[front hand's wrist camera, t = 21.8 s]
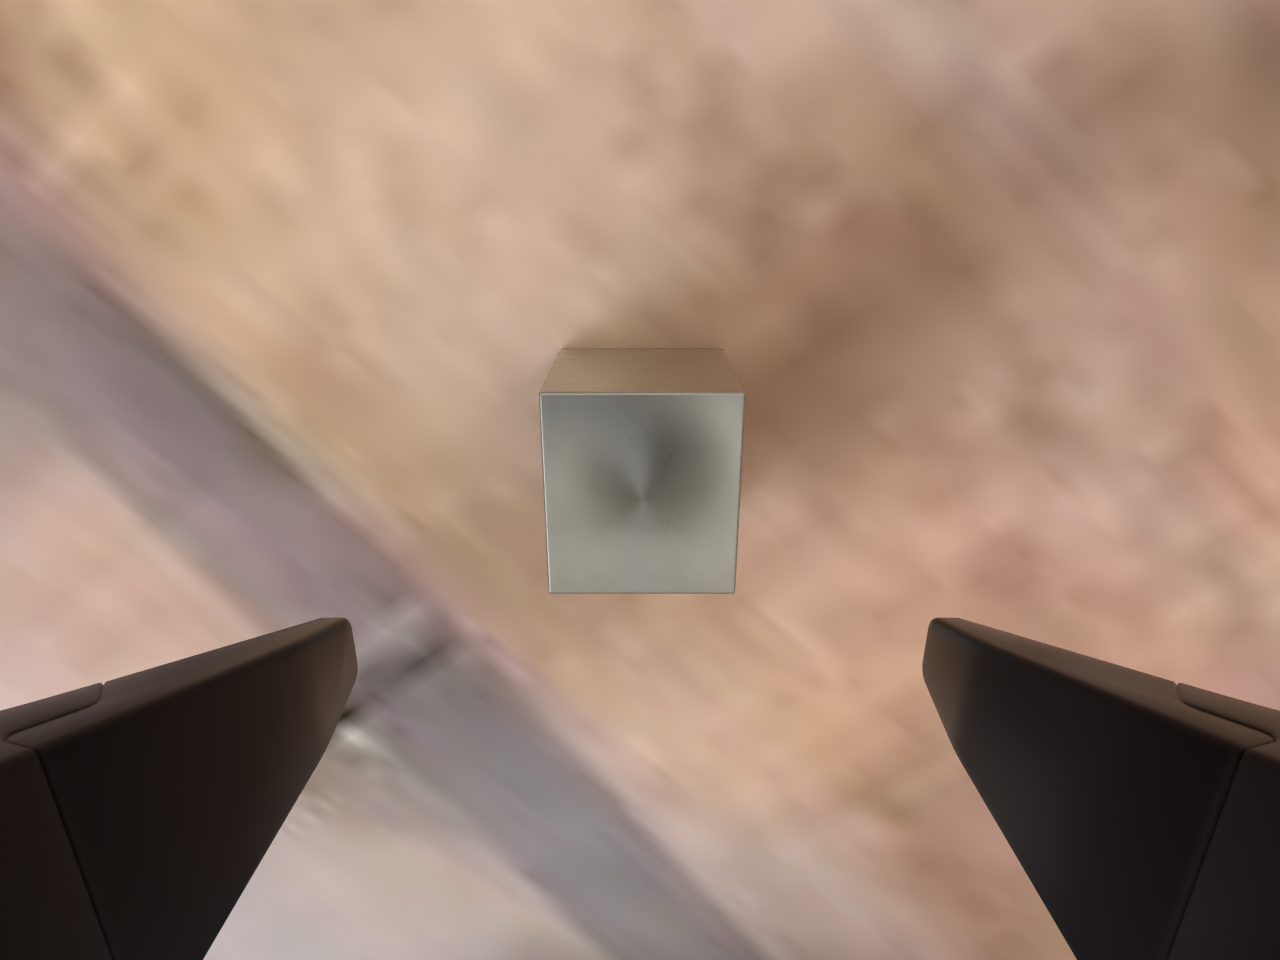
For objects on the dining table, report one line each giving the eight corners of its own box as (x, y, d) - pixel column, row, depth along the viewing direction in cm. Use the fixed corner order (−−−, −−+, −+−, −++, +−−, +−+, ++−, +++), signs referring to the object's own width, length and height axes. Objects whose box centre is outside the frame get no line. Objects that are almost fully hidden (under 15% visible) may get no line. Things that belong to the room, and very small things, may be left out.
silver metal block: (560, 348, 21) (538, 392, 16) (723, 348, 21) (746, 392, 16) (566, 514, 23) (548, 594, 18) (716, 514, 23) (735, 594, 18)
